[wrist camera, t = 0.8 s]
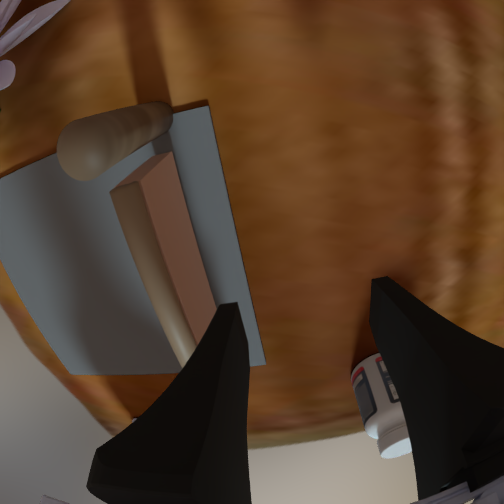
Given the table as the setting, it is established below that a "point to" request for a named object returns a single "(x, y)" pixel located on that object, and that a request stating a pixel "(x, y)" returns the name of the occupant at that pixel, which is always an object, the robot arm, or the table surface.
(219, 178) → the mat
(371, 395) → the pill bottle
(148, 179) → the brown rimmed panel
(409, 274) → the table surface
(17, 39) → the water lily
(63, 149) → the brown wooden posts
